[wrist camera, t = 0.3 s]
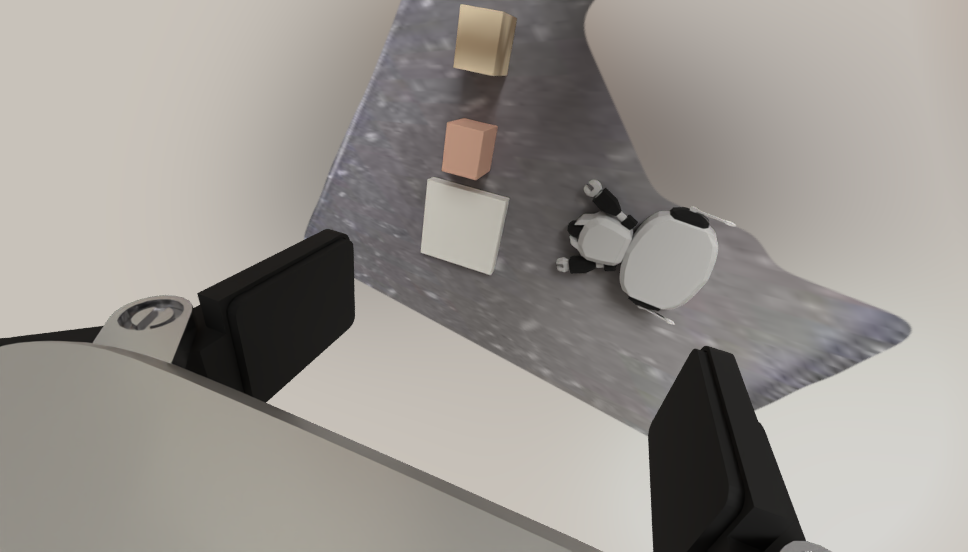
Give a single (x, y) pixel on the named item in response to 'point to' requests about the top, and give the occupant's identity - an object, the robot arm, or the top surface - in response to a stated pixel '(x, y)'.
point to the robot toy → (645, 250)
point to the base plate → (463, 224)
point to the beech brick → (484, 40)
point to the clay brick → (468, 148)
